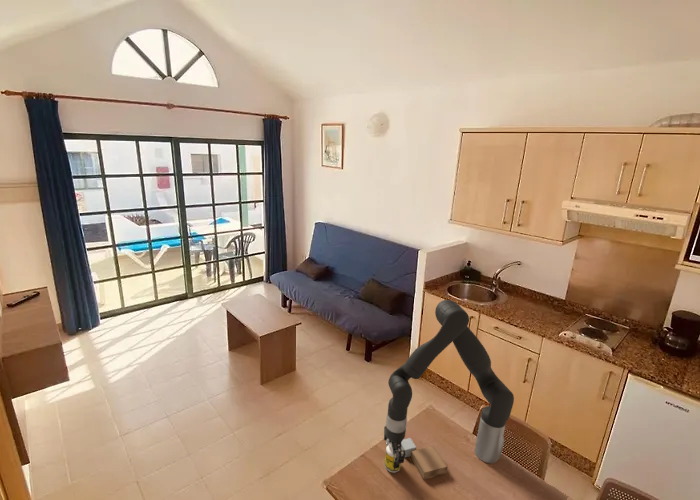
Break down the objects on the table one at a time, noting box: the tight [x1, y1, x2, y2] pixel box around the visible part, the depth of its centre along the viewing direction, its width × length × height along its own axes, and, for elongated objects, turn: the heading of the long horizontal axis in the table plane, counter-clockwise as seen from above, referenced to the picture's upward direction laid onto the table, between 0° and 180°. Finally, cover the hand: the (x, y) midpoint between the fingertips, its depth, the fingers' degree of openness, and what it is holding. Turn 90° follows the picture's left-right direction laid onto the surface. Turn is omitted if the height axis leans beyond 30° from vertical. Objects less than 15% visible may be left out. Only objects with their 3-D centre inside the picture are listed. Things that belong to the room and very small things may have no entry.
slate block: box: [401, 437, 417, 458], centre depth 147 cm, size 5×5×4 cm
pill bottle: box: [384, 441, 402, 473], centre depth 139 cm, size 6×6×11 cm
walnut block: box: [410, 445, 448, 480], centre depth 141 cm, size 10×10×4 cm
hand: (392, 459), depth 139 cm, fingers closed on pill bottle, 6 cm apart
